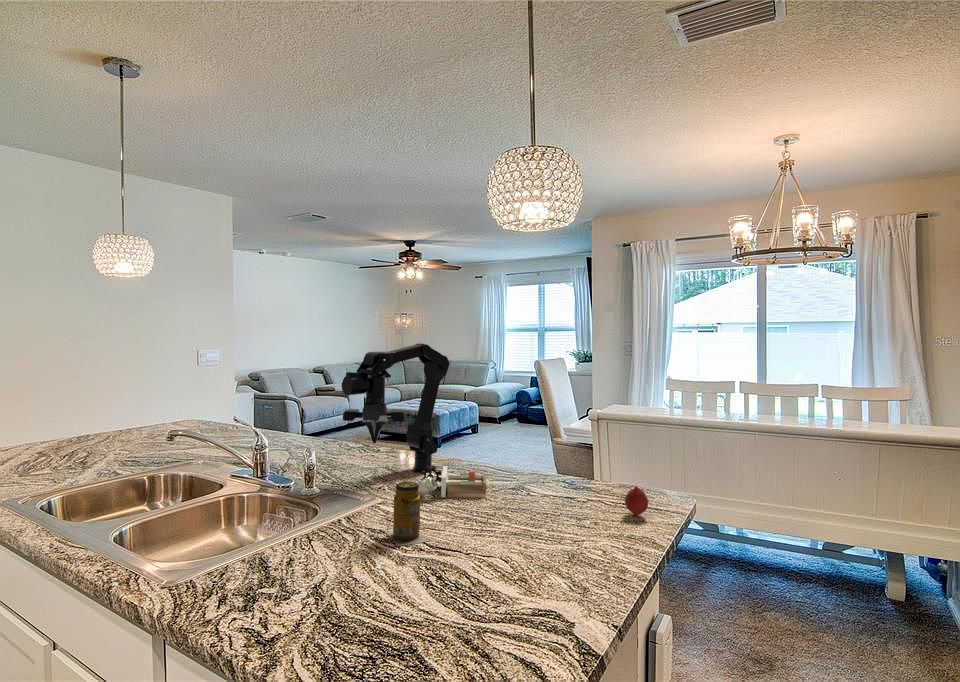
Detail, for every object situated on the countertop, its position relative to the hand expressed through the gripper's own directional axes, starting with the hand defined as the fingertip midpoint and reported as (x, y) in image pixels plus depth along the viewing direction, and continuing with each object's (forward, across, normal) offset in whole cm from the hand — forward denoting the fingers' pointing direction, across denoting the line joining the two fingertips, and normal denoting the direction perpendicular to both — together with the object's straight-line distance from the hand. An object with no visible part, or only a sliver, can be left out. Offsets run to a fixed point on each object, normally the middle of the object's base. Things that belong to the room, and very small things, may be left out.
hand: (374, 443), depth 159 cm
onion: (+12, +73, -27) cm, 79 cm away
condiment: (+12, +15, -42) cm, 46 cm away
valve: (+10, +14, -10) cm, 20 cm away
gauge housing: (+12, +29, -9) cm, 32 cm away
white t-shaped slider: (+12, +27, -9) cm, 31 cm away
